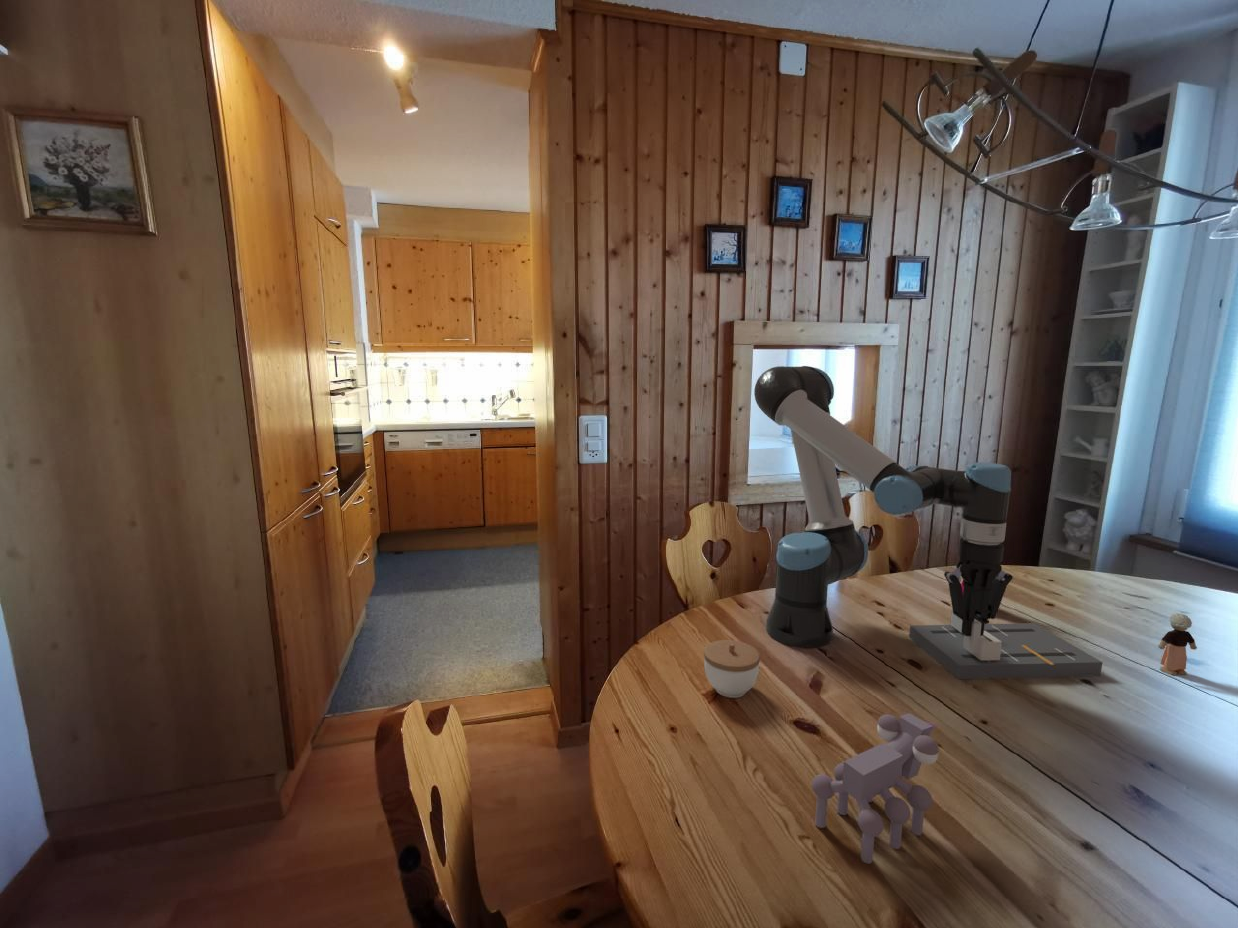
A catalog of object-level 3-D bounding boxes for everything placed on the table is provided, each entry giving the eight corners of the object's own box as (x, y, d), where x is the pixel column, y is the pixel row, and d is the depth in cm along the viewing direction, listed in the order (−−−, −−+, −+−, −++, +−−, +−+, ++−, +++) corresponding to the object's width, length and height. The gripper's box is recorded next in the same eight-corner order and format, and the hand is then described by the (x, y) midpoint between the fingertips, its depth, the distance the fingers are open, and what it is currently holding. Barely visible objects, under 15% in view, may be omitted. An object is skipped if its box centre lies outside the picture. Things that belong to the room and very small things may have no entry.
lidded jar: (712, 669, 117) (713, 627, 116) (763, 682, 113) (765, 638, 111) (695, 696, 108) (696, 650, 106) (751, 710, 103) (753, 663, 102)
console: (959, 680, 113) (961, 666, 113) (909, 637, 131) (910, 625, 131) (1102, 676, 114) (1104, 662, 114) (1032, 634, 132) (1034, 622, 132)
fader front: (980, 660, 114) (982, 641, 113) (964, 648, 119) (966, 630, 118) (999, 660, 114) (1002, 641, 114) (983, 648, 119) (985, 629, 119)
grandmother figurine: (1173, 664, 119) (1183, 608, 117) (1195, 673, 115) (1206, 616, 113) (1146, 669, 117) (1156, 612, 115) (1168, 678, 114) (1178, 620, 112)
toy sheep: (895, 768, 88) (906, 691, 85) (963, 818, 79) (978, 734, 76) (802, 816, 78) (811, 731, 76) (867, 879, 69) (881, 785, 66)
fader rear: (964, 635, 125) (966, 617, 125) (950, 625, 130) (952, 608, 129) (981, 634, 125) (983, 617, 125) (967, 624, 130) (969, 607, 130)
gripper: (961, 546, 109) (951, 659, 112) (1027, 545, 109) (1014, 658, 113) (938, 535, 116) (929, 641, 120) (1000, 534, 116) (988, 640, 120)
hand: (970, 649), depth 116 cm, fingers closed
